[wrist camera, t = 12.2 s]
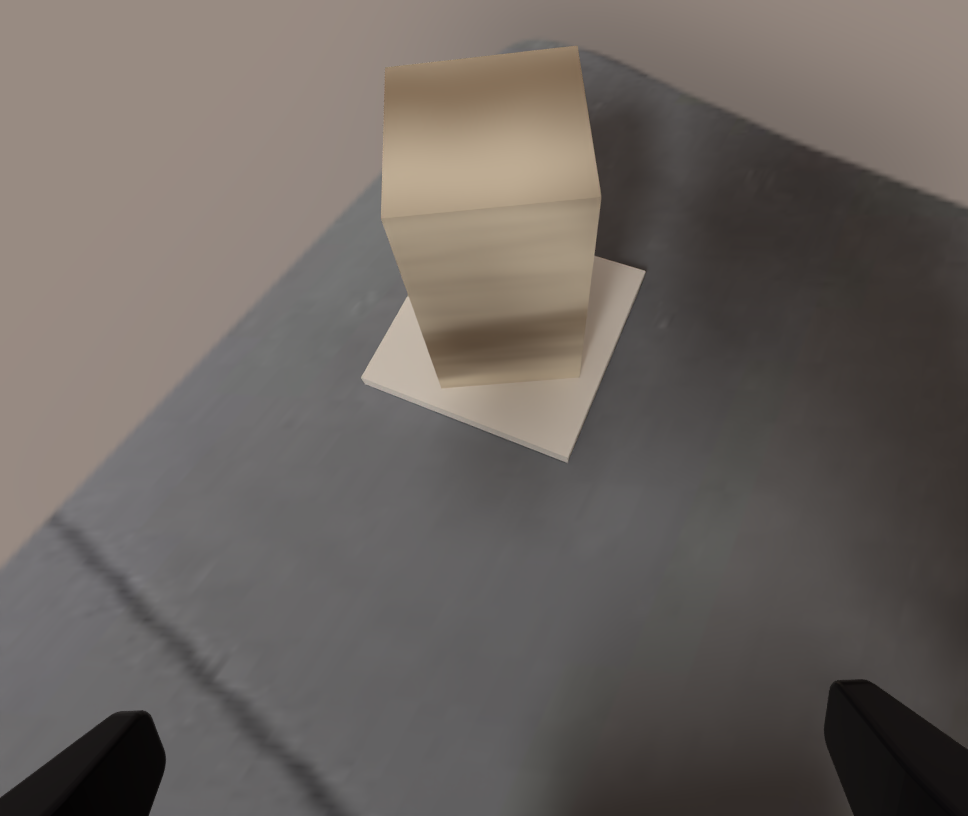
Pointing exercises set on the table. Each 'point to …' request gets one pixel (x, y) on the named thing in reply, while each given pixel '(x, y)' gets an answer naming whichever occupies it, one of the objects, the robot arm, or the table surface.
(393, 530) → the table surface
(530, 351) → the brass block
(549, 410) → the cream tile
